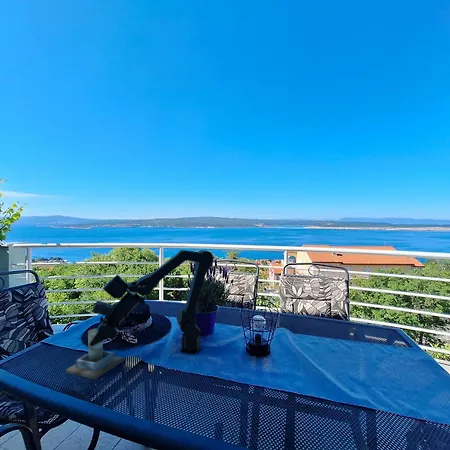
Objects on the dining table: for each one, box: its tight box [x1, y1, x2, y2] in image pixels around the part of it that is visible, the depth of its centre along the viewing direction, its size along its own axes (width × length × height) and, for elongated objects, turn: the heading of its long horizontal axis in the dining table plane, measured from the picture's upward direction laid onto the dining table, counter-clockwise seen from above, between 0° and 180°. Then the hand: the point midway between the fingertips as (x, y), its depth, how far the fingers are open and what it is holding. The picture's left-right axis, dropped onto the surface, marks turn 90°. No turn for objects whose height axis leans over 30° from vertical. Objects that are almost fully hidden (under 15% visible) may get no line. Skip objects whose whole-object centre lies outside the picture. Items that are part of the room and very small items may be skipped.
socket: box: [65, 350, 125, 381], centre depth 95 cm, size 13×13×4 cm
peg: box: [87, 327, 104, 363], centre depth 95 cm, size 4×4×10 cm
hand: (91, 342), depth 95 cm, fingers closed on peg, 4 cm apart
